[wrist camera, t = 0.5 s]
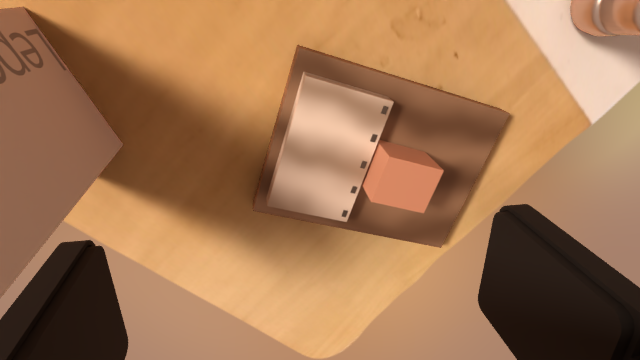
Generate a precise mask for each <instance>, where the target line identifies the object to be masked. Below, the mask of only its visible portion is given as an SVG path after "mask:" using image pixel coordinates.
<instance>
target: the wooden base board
mask: <svg viewBox="0 0 640 360" xmlns="http://www.w3.org/2000/svg"><path fill="white" fill-rule="evenodd" d="M508 116H509V113H507V112H506V111H504V110H502V109H499V108H496V107H493V106H490V105H487V104H484V103H480V102H477V101H474V100H471V99H468V98H465V97H461V96H458V95H455V94H452V93H449V92H446V91H442V90H439V89H436V88H433V87H430V86H426V85H423V84H420V83H417V82H414V81H411V80H407V79H404V78H401V77H398V76H395V75H392V74H388V73H385V72H382V71H379V70H376V69H373V68H369V67H366V66H363V65H360V64H357V63H353V62H350V61H347V60H344V59H341V58H338V57H334V56H331V55H328V54H325V53H322V52H319V51H315V50H312V49H309V48H306V47H303V46H299V45H297V48H296V52H295V55H294V59H293V62H292V66H291V69H290V73H289V76H288V80H287V84H286V87H285V91H284V94H283V98H282V101H281V105H280V108H279V112H278V116H277V119H276V123H275V126H274V130H273V133H272V137H271V140H270V144H269V148H268V151H267V155H266V158H265V162H264V165H263V169H262V172H261V176H260V179H259V183H258V187H257V190H256V194H255V197H254V201H253V211H257V212H262V213H267V214H272V215H277V216H282V217H287V218H292V219H297V220H302V221H307V222H312V223H318V224H323V225H328V226H333V227H338V228H343V229H348V230H353V231H358V232H363V233H368V234H373V235H379V236H384V237H389V238H394V239H399V240H404V241H409V242H414V243H419V244H424V245H429V246H434V247H439V248H441V247H442V245H443V243H444V241H445V239H446V237H447V235H448V233H449V231H450V229H451V227H452V225H453V223H454V222H455V220H456V218H457V216H458V214H459V212H460V210H461V208H462V206H463V204H464V202H465V200H466V198H467V196H468V194H469V192H470V190H471V188H472V186H473V184H474V183H475V181H476V179H477V177H478V175H479V173H480V171H481V169H482V167H483V165H484V163H485V161H486V159H487V157H488V155H489V153H490V151H491V149H492V147H493V145H494V143H495V142H496V140H497V138H498V136H499V134H500V132H501V130H502V128H503V126H504V124H505V122H506V120H507V118H508ZM379 140H382V141H386V142H390V143H394V144H398V145H401V146H405V147H409V148H413V149H416V150H420V151H424V152H426V153H427V154H428V155H429V156H430V157H431V158H432V159H433V160H434V161H435V162H436V163H437V164H438V165H439V166H440V167H441V168H442V169H443V170H444V172H443V174H442V176H441V178H440V180H439V182H438V184H437V186H436V189H435V191H434V193H433V195H432V197H431V199H430V201H429V203H428V205H427V208H426V210H425V212H424V213H420V212H415V211H411V210H406V209H402V208H397V207H392V206H388V205H383V204H379V203H374V202H371V201H370V199H369V197H368V195H367V194H366V192H365V190H364V188H363V186H362V182H363V179H364V177H365V174H366V172H367V169H368V166H369V164H370V161H371V159H372V156H373V154H374V151H375V149H376V146H377V144H378V141H379Z"/></svg>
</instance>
